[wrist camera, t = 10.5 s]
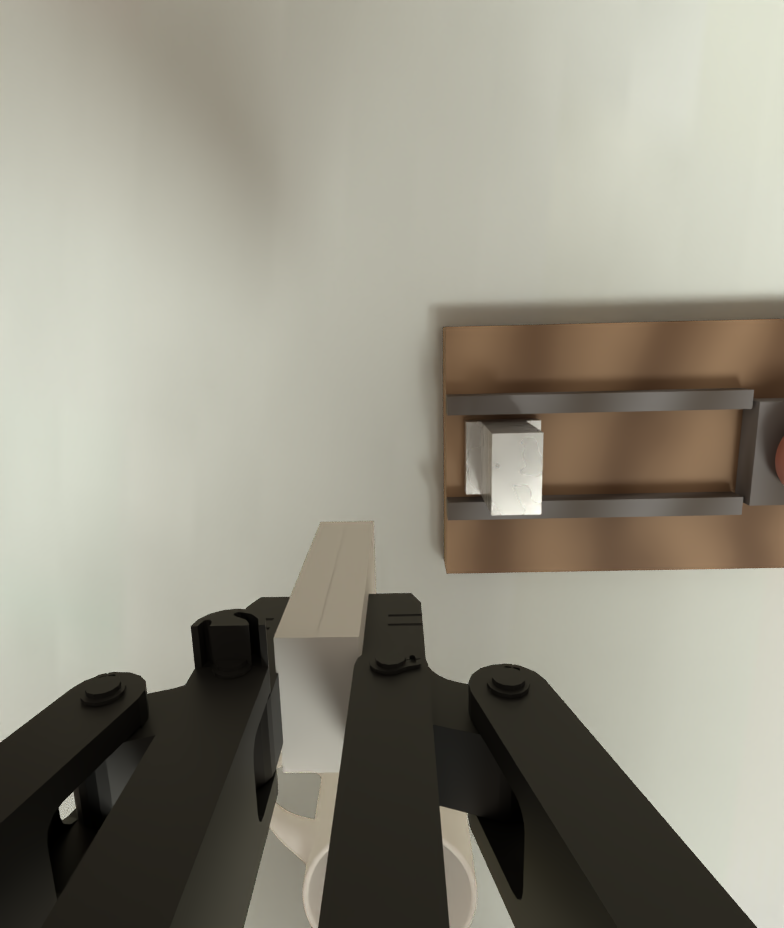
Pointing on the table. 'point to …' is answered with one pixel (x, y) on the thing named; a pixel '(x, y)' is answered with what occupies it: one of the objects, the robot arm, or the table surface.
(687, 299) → the table surface
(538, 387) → the control board
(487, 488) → the slide knob
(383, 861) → the robot arm
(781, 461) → the push button
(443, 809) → the mug
